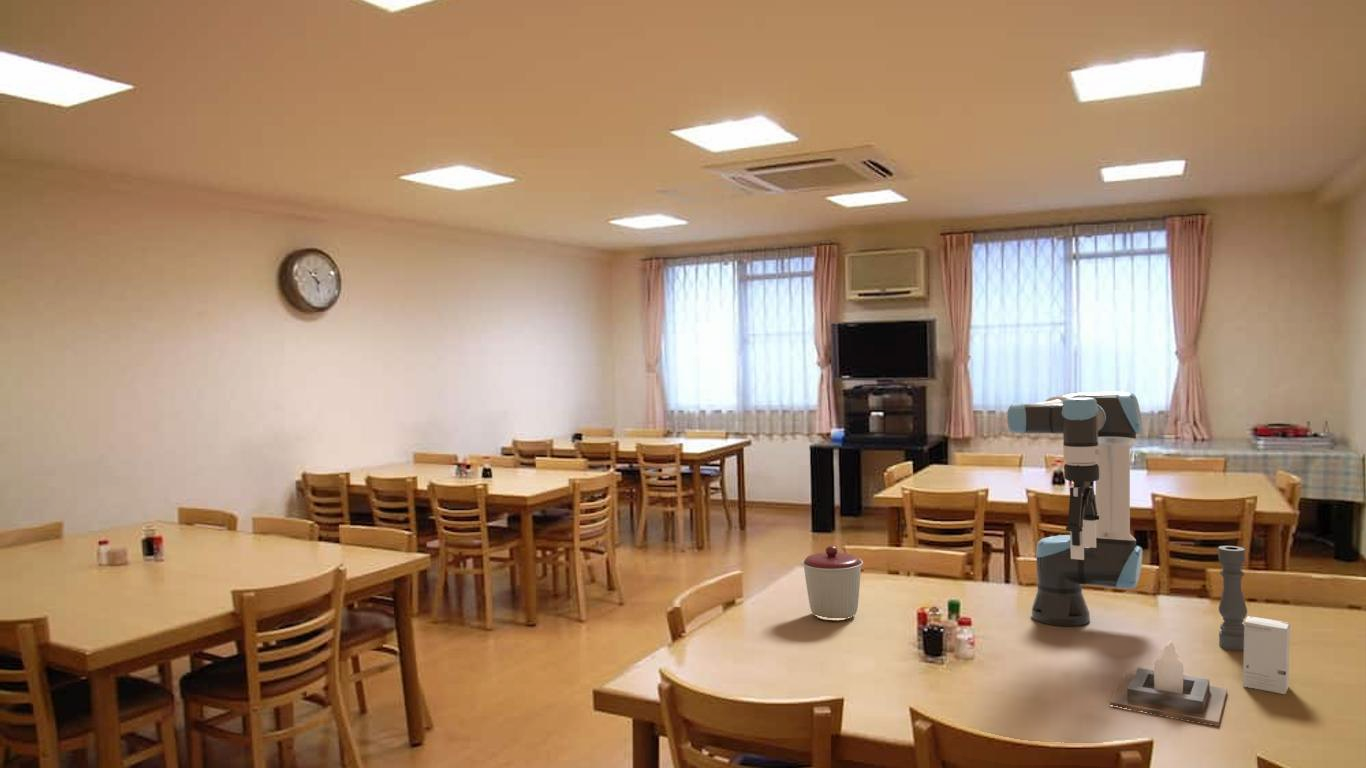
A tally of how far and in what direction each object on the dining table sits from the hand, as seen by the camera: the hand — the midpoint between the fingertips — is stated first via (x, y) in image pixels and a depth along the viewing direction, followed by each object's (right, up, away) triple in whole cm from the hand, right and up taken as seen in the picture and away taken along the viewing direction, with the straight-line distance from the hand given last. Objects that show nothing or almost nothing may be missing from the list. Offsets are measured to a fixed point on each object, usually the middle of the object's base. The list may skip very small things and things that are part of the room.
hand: (1083, 553), depth 205 cm
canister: (-50, -29, +53) cm, 79 cm away
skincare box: (+35, -28, -12) cm, 46 cm away
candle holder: (+44, -27, +14) cm, 53 cm away
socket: (+11, -29, -16) cm, 35 cm away
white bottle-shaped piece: (+11, -28, -16) cm, 34 cm away
